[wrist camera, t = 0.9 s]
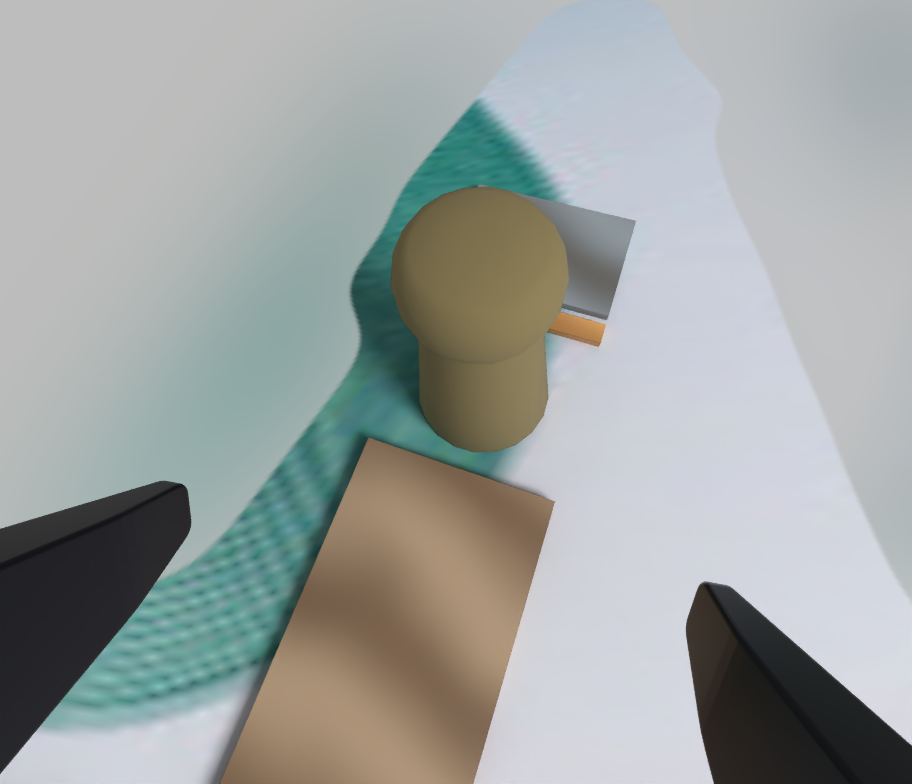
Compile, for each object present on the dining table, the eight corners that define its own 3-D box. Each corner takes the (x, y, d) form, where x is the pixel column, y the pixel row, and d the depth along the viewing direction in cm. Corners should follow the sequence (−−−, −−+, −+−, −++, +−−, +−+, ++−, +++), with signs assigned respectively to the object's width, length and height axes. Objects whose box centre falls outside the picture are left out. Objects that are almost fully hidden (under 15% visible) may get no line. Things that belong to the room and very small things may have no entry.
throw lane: (422, 955, 17) (419, 968, 16) (201, 838, 18) (192, 845, 18) (633, 226, 26) (636, 218, 26) (479, 189, 28) (478, 181, 27)
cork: (392, 392, 24) (318, 246, 14) (480, 309, 25) (474, 118, 15) (485, 480, 22) (481, 389, 12) (575, 386, 23) (642, 231, 13)
